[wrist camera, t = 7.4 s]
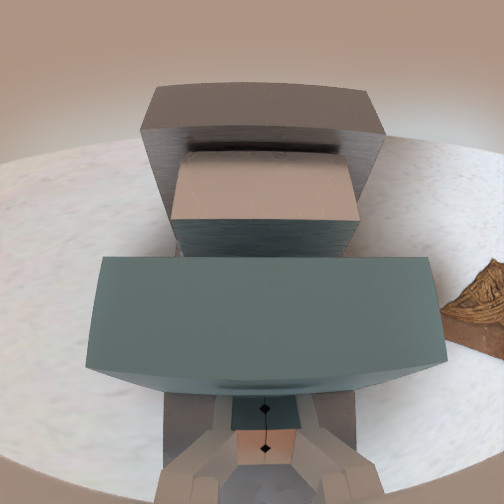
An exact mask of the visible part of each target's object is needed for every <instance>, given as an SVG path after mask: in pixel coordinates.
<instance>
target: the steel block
mask: <svg viewBox="0 0 504 504" xmlns="http://www.w3.org/2000/svg"><path fill="white" fill-rule="evenodd" d="M171 222H172V225H173V228H174V230H175V233H176V236H177V239H178V242H179V245H180V247H181V250H182V253H183V256H184V257H259V258H341V257H342V255H343V253H344V251H345V249H346V247H347V245H348V244H349V242H350V240H351V238H352V236H353V234H354V232H355V230H356V228H357V226H358V225H359V223H360V216H359V212H358V207H357V203H356V199H355V195H354V190H353V186H352V182H351V178H350V174H349V170H348V167H347V163H346V159H345V155H340V154H325V153H307V152H279V151H204V152H183V153H182V158H181V163H180V168H179V173H178V179H177V184H176V190H175V196H174V202H173V208H172V214H171Z"/></svg>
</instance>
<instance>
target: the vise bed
mask: <svg viewBox="0 0 504 504" xmlns="http://www.w3.org/2000/svg"><path fill="white" fill-rule="evenodd" d="M140 132H141V135H142V139H143V142H144V146H145V149H146V152H147V155H148V158H149V161H150V165H151V168H152V171H153V174H154V177H155V180H156V183H157V186H158V189H159V192H160V195H161V198H162V201H163V204H164V207H165V210H166V212H167V215H168V218H169V221H170V224H171V227H172V229H173V232H174V235H175V238H176V241H177V245H176V253H175V257H184V256H183V253H182V250H181V247H180V245H179V242H178V239H177V236H176V233H175V230H174V228H173V225H172V222H171V214H172V208H173V202H174V196H175V190H176V184H177V179H178V173H179V168H180V163H181V158H182V153H183V152H204V151H279V152H307V153H325V154H340V155H345V159H346V163H347V167H348V170H349V174H350V178H351V182H352V186H353V190H354V195H355V199H356V203H357V201H358V199H359V197H360V195H361V192H362V190H363V188H364V186H365V183H366V181H367V179H368V176H369V174H370V172H371V169H372V167H373V165H374V162H375V160H376V158H377V155H378V153H379V150H380V148H381V146H382V143H383V141H384V138H385V136H386V134H385V132H384V129H383V127H382V125H381V122H380V120H379V118H378V116H377V113H376V111H375V109H374V107H373V105H372V103H371V101H370V99H369V97H368V94H367V92H366V91H361V90H353V89H345V88H337V87H327V86H316V85H304V84H287V83H256V82H254V83H253V82H250V83H249V82H241V83H239V82H235V83H233V82H231V83H201V84H184V85H172V86H161V87H157V88H156V90H155V92H154V95H153V97H152V100H151V102H150V105H149V107H148V110H147V113H146V115H145V118H144V120H143V123H142V126H141V128H140ZM291 395H295V394H291ZM310 395H311V396H312V400H313V404H314V408H315V412H316V416H317V420H318V424H319V428H325V429H327V430H328V431H329V432H330V433H332V434H333V435H334V436H336V437H337V438H338V439H340V440H341V441H342V442H344V443H345V444H346V445H348V446H349V447H351V448H352V449H353V450H355V451H356V416H355V394H354V390H347V391H336V392H324V393H310ZM232 396H233V395H232ZM242 396H275V395H242ZM216 397H217V395H205V394H186V393H172V392H164V418H163V469H164V468H165V467H166V466H167V465H169V464H170V463H171V462H172V461H173V460H174V459H176V458H177V457H178V456H179V455H180V454H181V453H183V452H184V451H185V450H186V449H187V448H188V447H189V446H191V445H192V444H193V443H194V442H195V441H196V440H197V439H198V438H200V437H201V436H202V435H203V434H204V433H205V432H206V431H207V430H213V421H214V412H215V403H216ZM220 494H221V501H222V504H312V502H313V499H314V497H315V494H316V492H315V490H314V489H313V488H312V487H311V486H310V485H309V484H308V483H307V482H306V481H305V480H304V479H303V478H302V477H301V475H300V474H299V473H298V472H297V471H296V470H295V469H294V468H293V467H292V465H291V464H265V460H264V464H259V465H237V468H236V469H235V470H234V472H233V473H232V474H231V475H230V477H229V478H228V479H227V480H226V482H225V483H224V484H223V485H222V487H221V488H220Z"/></svg>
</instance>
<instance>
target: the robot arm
mask: <svg viewBox="0 0 504 504" xmlns="http://www.w3.org/2000/svg"><path fill="white" fill-rule="evenodd" d="M264 460H265V464H291V465H292V467H293V468H294V469H295V470H296V471H297V472H298V473H299V474H300V475H301V477H302V478H303V479H304V480H305V481H306V482H307V483H308V484H309V485H310V486H311V487H312V488H313V489H314V490H315V492H316V494H315V497H314V499H313V502H312V504H504V451H502V452H500V453H498V454H496V455H494V456H492V457H490V458H488V459H486V460H483V461H481V462H479V463H477V464H474V465H472V466H470V467H467V468H465V469H462V470H460V471H457V472H455V473H452V474H449V475H446V476H444V477H441V478H438V479H435V480H432V481H429V482H426V483H423V484H420V485H416V486H413V487H409V488H406V489H402V490H399V491H395V492H391V493H387V494H385V493H384V490H383V488H382V485H381V482H380V479H379V476H378V473H377V471H376V468H375V465H374V464H373V463H371V462H370V461H369V460H367V459H366V458H364V457H363V456H362V455H360V454H359V453H357V452H356V451H355V450H353V449H352V448H351V447H349V446H348V445H346V444H345V443H344V442H342V441H341V440H340V439H338V438H337V437H336V436H334V435H333V434H332V433H330V432H329V431H328V430H327V429H325V428H319V424H318V420H317V416H316V412H315V408H314V404H313V400H312V396H311V395H310V393H309V394H295V395H275V396H242V395H233V396H232V395H217V397H216V403H215V412H214V421H213V430H207V431H206V432H205V433H204V434H203V435H202V436H201V437H200V438H198V439H197V440H196V441H195V442H194V443H193V444H192V445H191V446H189V447H188V448H187V449H186V450H185V451H184V452H183V453H181V454H180V455H179V456H178V457H177V458H176V459H174V460H173V461H172V462H171V463H170V464H169V465H167V466H166V467H165V468H164V469H163V470H161V474H160V478H159V482H158V487H157V491H156V495H155V500H154V503H153V502H147V501H142V500H136V499H131V498H126V497H122V496H117V495H113V494H109V493H105V492H101V491H97V490H93V489H89V488H86V487H83V486H79V485H76V484H73V483H70V482H66V481H63V480H61V479H58V478H55V477H52V476H49V475H46V474H44V473H41V472H39V471H36V470H34V469H31V468H29V467H26V466H24V465H22V464H19V463H17V462H15V461H12V460H10V459H8V458H6V457H4V456H2V455H0V504H222V501H221V494H220V488H221V487H222V485H223V484H224V483H225V482H226V480H227V479H228V478H229V477H230V475H231V474H232V473H233V472H234V470H235V469H236V468H237V465H259V464H264Z"/></svg>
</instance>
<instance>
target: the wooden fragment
mask: <svg viewBox="0 0 504 504" xmlns="http://www.w3.org/2000/svg"><path fill="white" fill-rule="evenodd" d="M440 314H441V320H442V326H443V332H444V338H445V339H447V340H449V341H453V342H455V343H458V344H461V345H463V346H466V347H468V348H471V349H474V350H477V351H479V352H482V353H485V354H488V355H490V356H493V357H495V358H499V359H502V360H504V264H500V263H499V262H497V261H496V260H495V259H494V260H493V261H492V262H491V263H490V264H489V265H488V266H487V267H486V268H485V270H484V271H483V272H482V273H480V274H478V276H477V277H476V278H475V282H474V284H472V285H470V286H469V287H467V288H466V290H464V292H463V293H462V294H461V295H460V296H459V297H458V298H457V299H456V300H455V302H454V303H450V304H447V305H446V306H445V307H444V308H441V309H440Z"/></svg>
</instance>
